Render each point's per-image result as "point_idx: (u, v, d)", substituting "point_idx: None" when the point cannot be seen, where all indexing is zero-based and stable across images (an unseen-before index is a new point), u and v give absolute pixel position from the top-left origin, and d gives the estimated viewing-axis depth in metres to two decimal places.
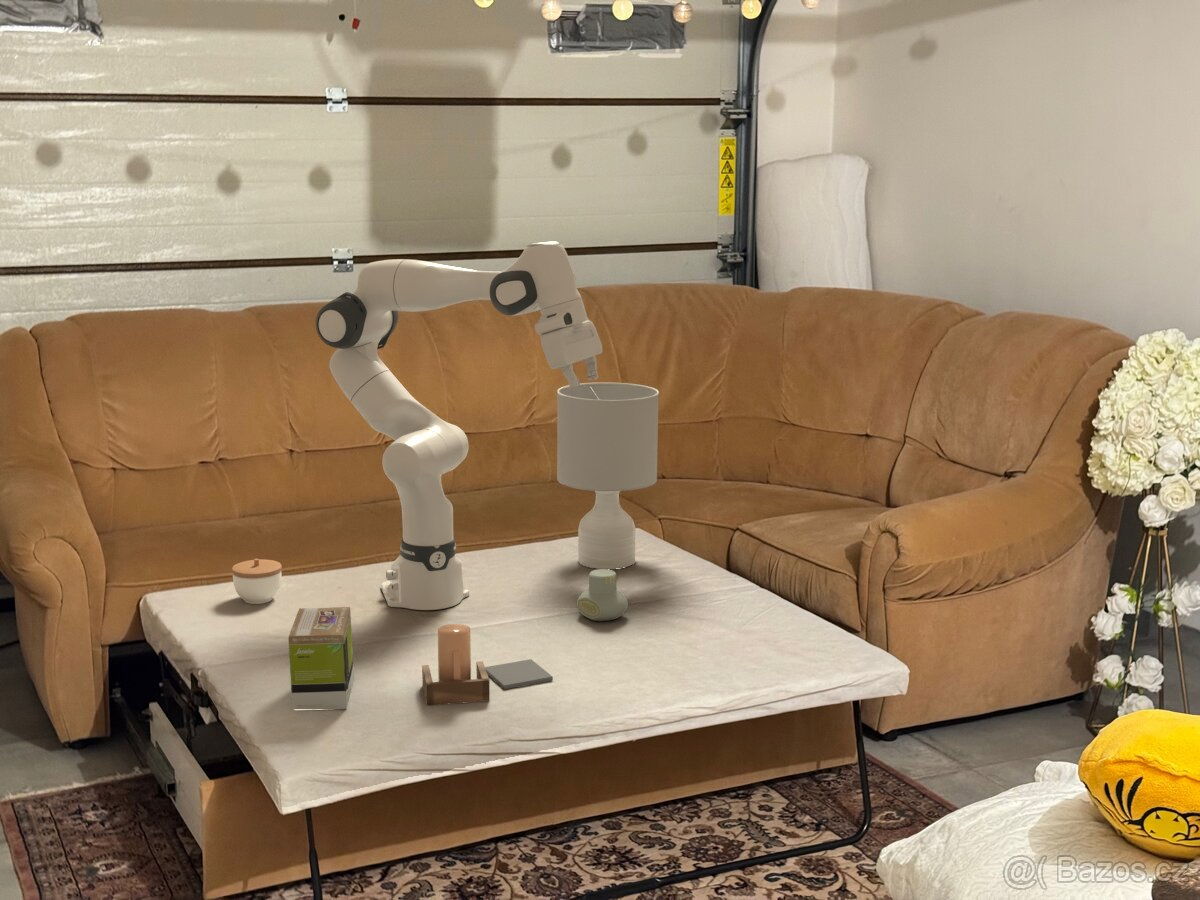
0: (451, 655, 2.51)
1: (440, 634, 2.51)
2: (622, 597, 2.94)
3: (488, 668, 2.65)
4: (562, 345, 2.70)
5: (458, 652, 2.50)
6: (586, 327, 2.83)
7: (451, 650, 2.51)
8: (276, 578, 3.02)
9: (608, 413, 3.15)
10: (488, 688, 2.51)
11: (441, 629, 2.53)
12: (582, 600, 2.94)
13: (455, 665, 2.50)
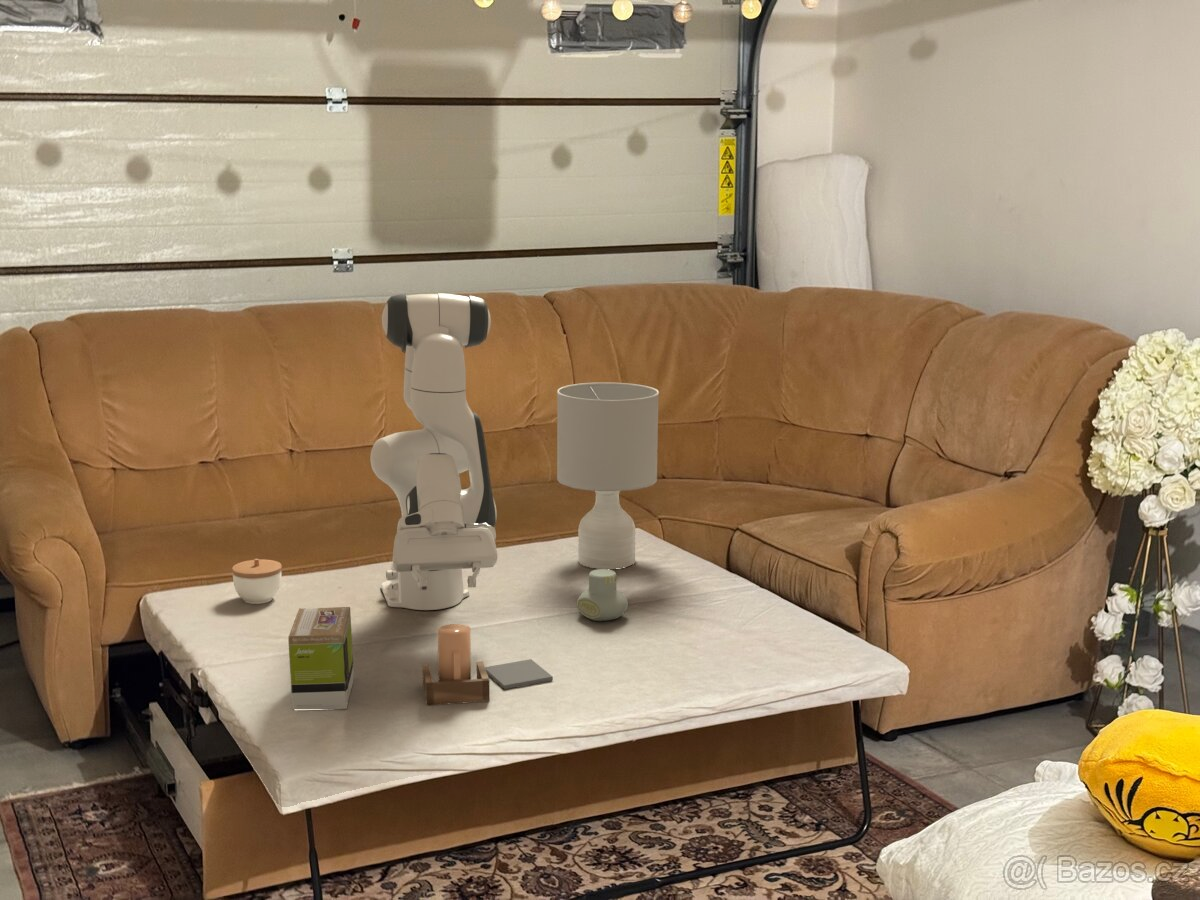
0: (451, 655, 2.51)
1: (440, 634, 2.51)
2: (622, 597, 2.94)
3: (488, 668, 2.65)
4: (395, 544, 2.63)
5: (458, 652, 2.50)
6: (469, 533, 2.68)
7: (451, 650, 2.51)
8: (276, 578, 3.02)
9: (608, 413, 3.15)
10: (488, 688, 2.51)
11: (441, 629, 2.53)
12: (581, 600, 2.94)
13: (455, 665, 2.50)
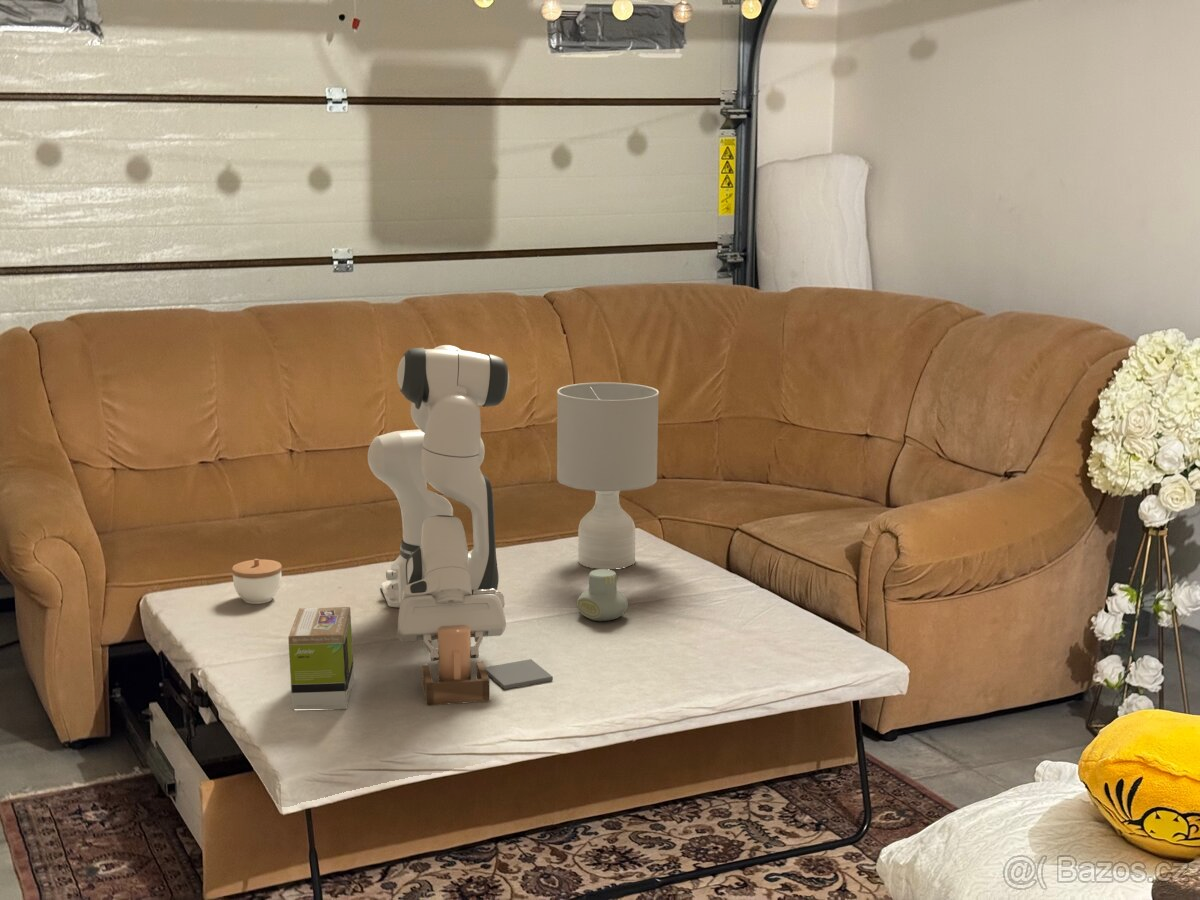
0: (451, 655, 2.51)
1: (440, 634, 2.51)
2: (622, 597, 2.94)
3: (488, 668, 2.65)
4: (400, 613, 2.54)
5: (458, 652, 2.50)
6: (476, 600, 2.59)
7: (451, 650, 2.51)
8: (276, 578, 3.02)
9: (608, 413, 3.15)
10: (488, 688, 2.51)
11: (441, 629, 2.53)
12: (582, 600, 2.94)
13: (455, 665, 2.50)
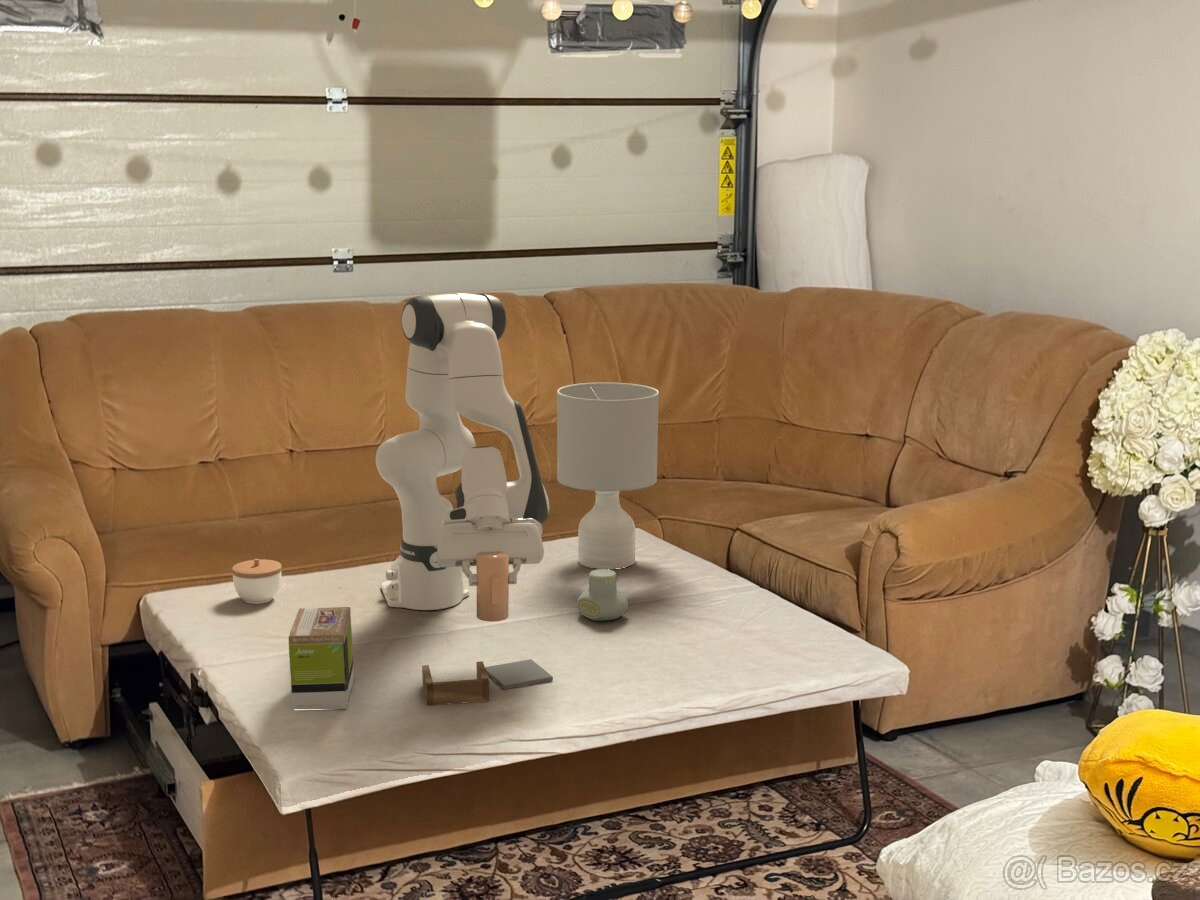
0: (489, 579, 2.54)
1: (479, 559, 2.54)
2: (622, 597, 2.94)
3: (488, 668, 2.65)
4: (440, 539, 2.58)
5: (496, 576, 2.53)
6: (515, 528, 2.62)
7: (489, 574, 2.54)
8: (276, 578, 3.02)
9: (608, 413, 3.15)
10: (488, 688, 2.51)
11: (480, 554, 2.56)
12: (582, 600, 2.94)
13: (493, 589, 2.53)
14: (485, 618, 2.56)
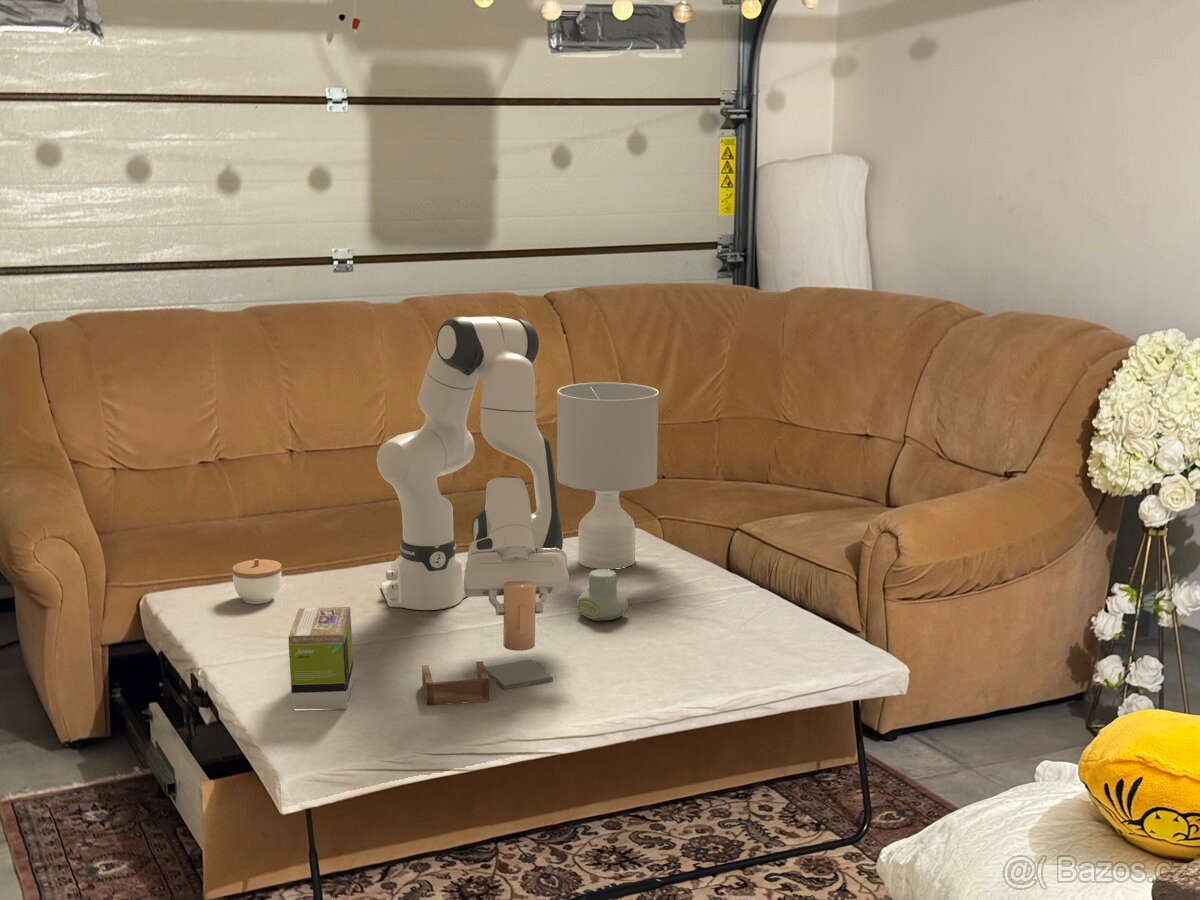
0: (517, 609, 2.56)
1: (506, 588, 2.57)
2: (622, 597, 2.94)
3: (488, 668, 2.65)
4: (467, 569, 2.60)
5: (524, 606, 2.55)
6: (540, 558, 2.64)
7: (517, 604, 2.56)
8: (276, 578, 3.02)
9: (608, 413, 3.15)
10: (488, 688, 2.51)
11: (507, 584, 2.58)
12: (582, 600, 2.94)
13: (521, 619, 2.55)
14: (512, 647, 2.58)
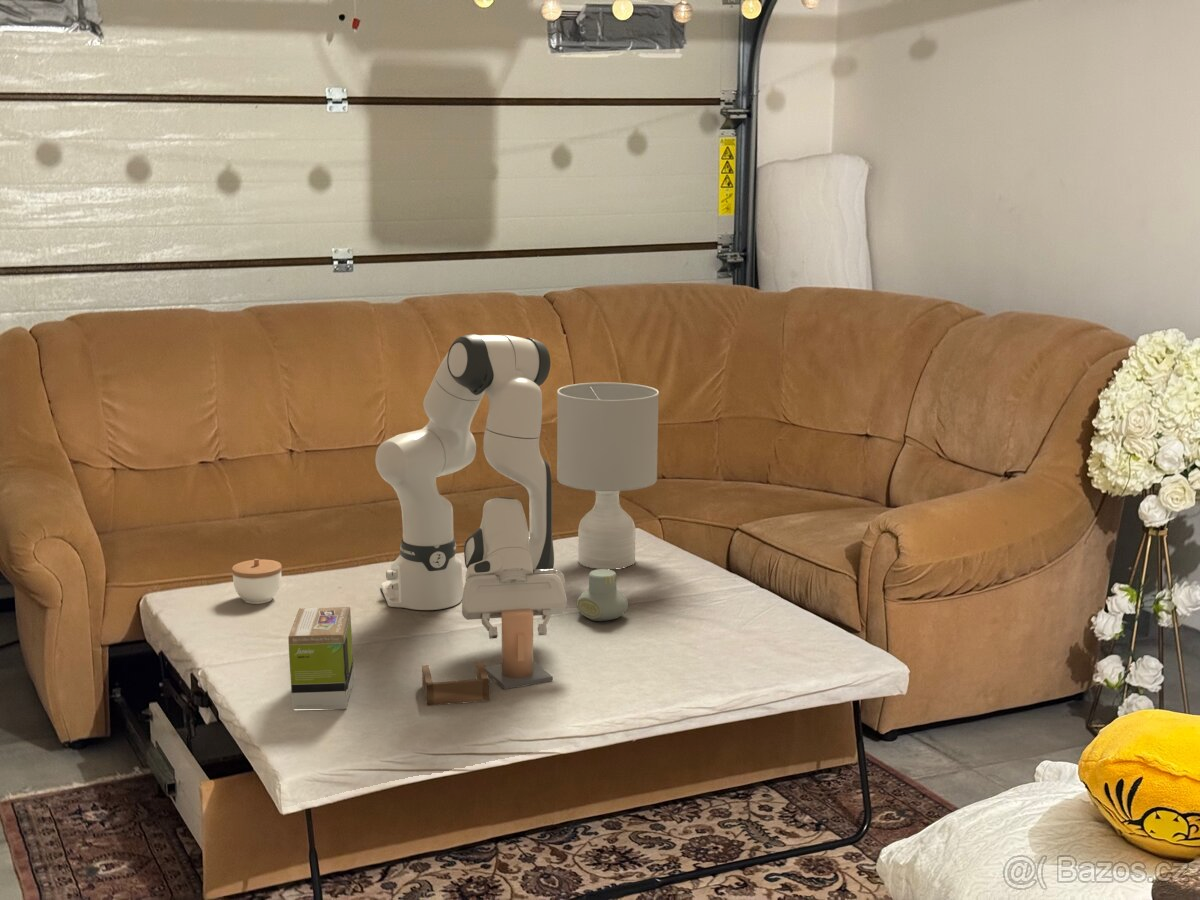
0: (515, 637, 2.58)
1: (504, 617, 2.58)
2: (622, 597, 2.94)
3: (488, 668, 2.65)
4: (465, 592, 2.61)
5: (522, 634, 2.57)
6: (538, 580, 2.66)
7: (515, 632, 2.58)
8: (276, 578, 3.02)
9: (608, 413, 3.15)
10: (488, 688, 2.51)
11: (505, 612, 2.60)
12: (582, 600, 2.94)
13: (519, 647, 2.57)
14: (511, 674, 2.60)
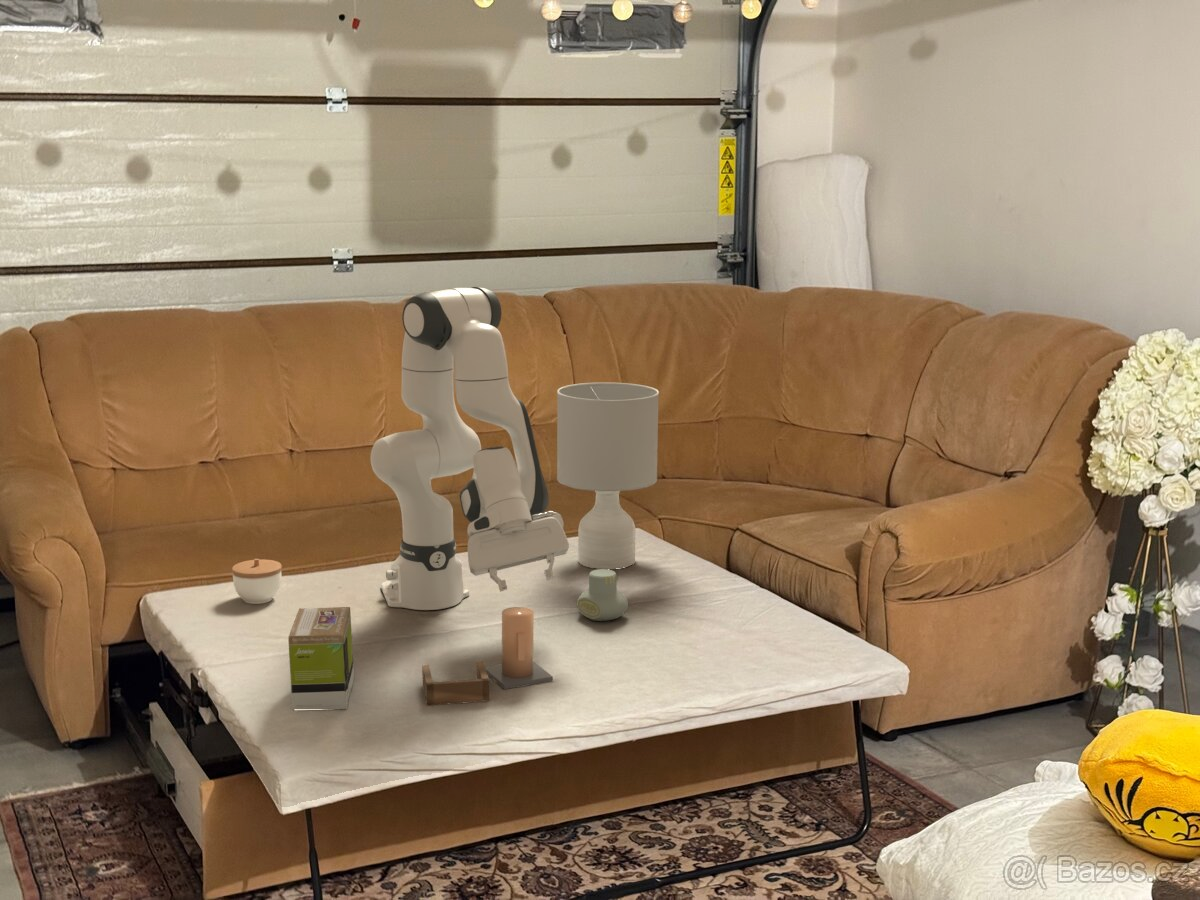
0: (515, 637, 2.58)
1: (505, 616, 2.59)
2: (622, 597, 2.94)
3: (488, 668, 2.65)
4: (469, 551, 2.70)
5: (522, 634, 2.57)
6: (537, 526, 2.73)
7: (515, 632, 2.58)
8: (276, 578, 3.02)
9: (608, 413, 3.15)
10: (488, 688, 2.51)
11: (505, 612, 2.60)
12: (582, 600, 2.94)
13: (519, 646, 2.57)
14: (511, 674, 2.60)
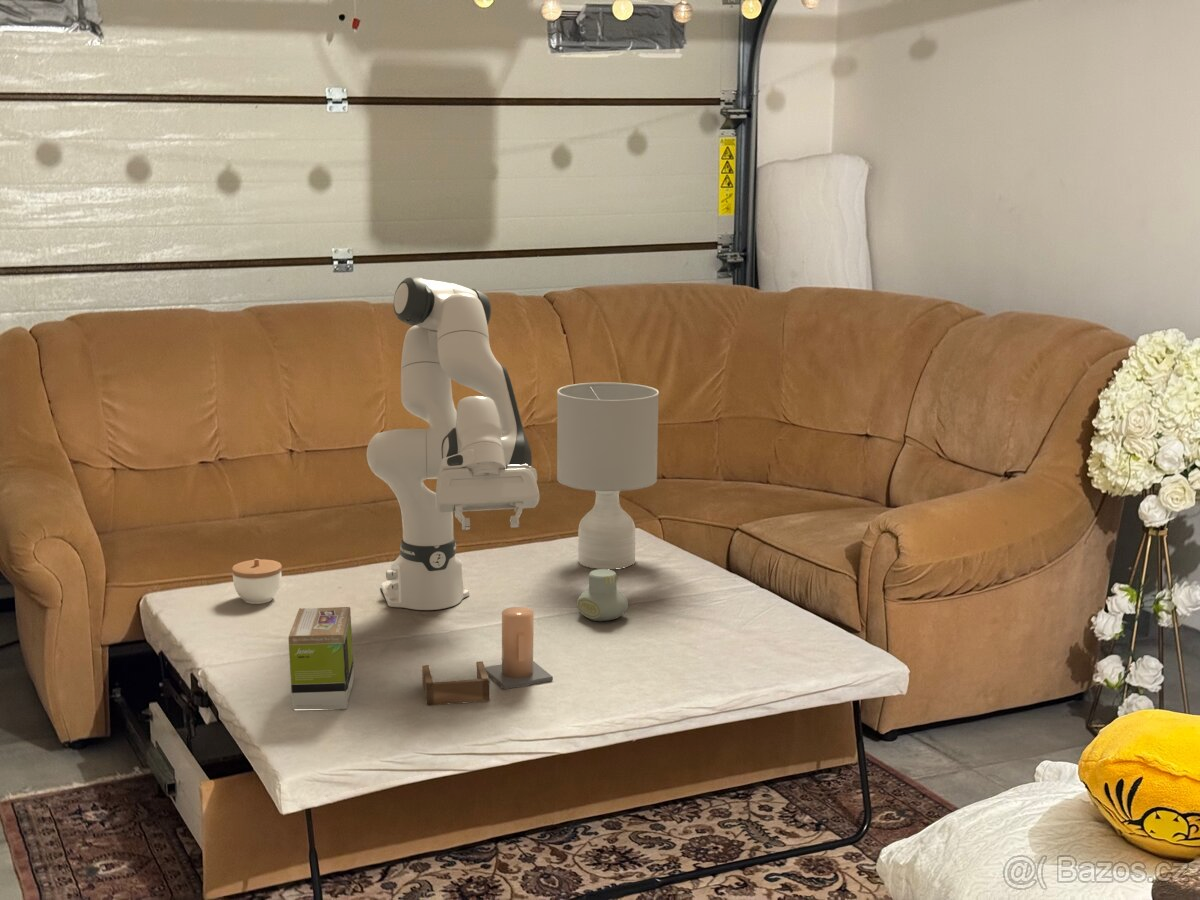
0: (515, 637, 2.58)
1: (505, 617, 2.58)
2: (622, 597, 2.94)
3: (488, 668, 2.65)
4: (438, 484, 2.64)
5: (523, 634, 2.57)
6: (510, 474, 2.68)
7: (516, 632, 2.58)
8: (276, 578, 3.02)
9: (608, 413, 3.15)
10: (488, 688, 2.51)
11: (505, 612, 2.60)
12: (582, 600, 2.94)
13: (520, 647, 2.57)
14: (511, 674, 2.60)
